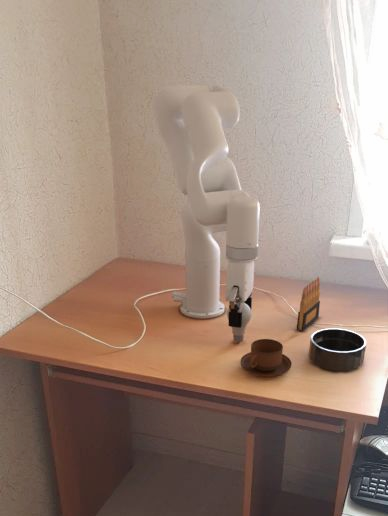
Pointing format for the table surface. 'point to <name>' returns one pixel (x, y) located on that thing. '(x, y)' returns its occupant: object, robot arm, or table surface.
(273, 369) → the cup and saucer
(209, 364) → the table surface
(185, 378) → the table surface
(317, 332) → the bowl
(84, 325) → the table surface
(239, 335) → the lightbulb
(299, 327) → the ammunition clip
